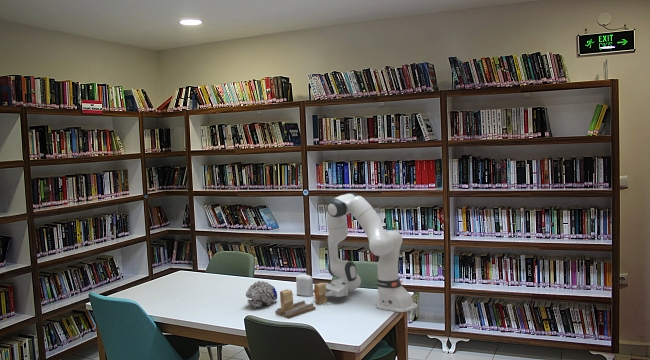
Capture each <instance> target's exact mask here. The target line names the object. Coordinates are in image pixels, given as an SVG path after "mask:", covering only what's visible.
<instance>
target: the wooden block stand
mask: <svg viewBox="0 0 650 360" xmlns="http://www.w3.org/2000/svg"><path fill="white" fill-rule="evenodd" d="M293 295H294V294H293V290H291V289H288V288H287V289H284V290H281V291H279V297H280V298H279V300H280V307H278V308H276V310H275V313H274V314H276V315H278V316H280V317H284V318H287V319H292V318H296V317H299V316H302V315H304V314H307V313H310V312H313V311H315V310H317V309H316V306H314V303H312V302H311V303H308V304H307V303H306V301H305V300H301V301H298V302H294V296H293Z"/></svg>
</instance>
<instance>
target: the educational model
mask: <svg viewBox="0 0 650 360" xmlns="http://www.w3.org/2000/svg"><path fill="white" fill-rule="evenodd" d="M245 297H246V298H248V299H246V300H247V302H246V303H247V304H248V305H249V306H251V307H254V309H256V308H260V307H261V306H263V303H264V304H265V305H266V306H268V307H269V306H270V305H271V304H272V303H273V301H276V300H277V299H278V292H277V290H276V288H275V287H274V285H272V284H271V283H269V282H267V281H266V282H265V281H261V280H258V281H255V282H254V283H253V284H251V285H250V286H249V287H248V289H247V290H246V292H245Z"/></svg>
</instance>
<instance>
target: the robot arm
mask: <svg viewBox="0 0 650 360" xmlns="http://www.w3.org/2000/svg"><path fill="white" fill-rule="evenodd" d="M349 214H351V215H352V217H354V218H355V220H356V221H357V222H358V224H359V226H360V227H361V228H362V230H363V231H364V233H365V235H366V237H367V239H368V247H369V251H370V253H371V254H373V256H378V257H379V259H378V261H377V264H376V267H377V269H376V270H377V278H376V280H377V281H376V286H377V297H376V303H375V305H376V309H379V310H386V311H391V312H397V313H405V312H410V311H412V310H415V309H417V307H418V304H417V303H415V302H413V296H412V294H411V293H410V292H408V290H406V288H405V287H404V286H402V284H403V283H404V282H403V280H400V277H399V257H400V253H401V252H400V251H401V246H402V244H403V236H402V234H401V233H400V232H399V231H397V230H387V231H386V230H385V229H384V226H383V222H382V219H381V216H379V214H378V213H377V211H376V210H375V209H374V207H373V206H372V204H370V203H369V202H368V201H367V200H366V198H364V197H363V196H362V195H358V194H357V193H355V192H348V193H345V194H342V195H339V196H336V197H335V198H332V199H331V200H329V201H328V202H327V203H326V223H327V229H328V236H327V237H326V238H327V239H326V246H327V247H326V248H327V256H328V257H327V258H328V259H327V260H328V263H327V271H328V273H329V275H330V276H331V277H334V278H335V277H336V278H337V277H338V278H337V279H334V280H332V281H331V282H330V283H328V282H325V283H326V292H325V293H324V296H327V297H329V296H332V297H337V298H341V297H344V296H345V297H347V296H349V293H350V292H352V291H354V290H358V288H359V287H360V286H361V283H362V280H361V277H360V276H359V274H358V273H357V266H356V264H355V263H354V262H353V261H352V260H342V259H340V258H339V249H338V245H339V243H340V242H342V241H344V240H345V239H346V238H347V237H348V235H349V229H348V224H347V219H346V217H347V215H349ZM313 294H315V293H314V289H313Z"/></svg>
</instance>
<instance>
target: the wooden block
mask: <svg viewBox="0 0 650 360" xmlns="http://www.w3.org/2000/svg"><path fill="white" fill-rule="evenodd" d="M326 283H327V282H321V281H320V282H318V283H314V284H313V290H314V293H313V294H314V302H315V303H314V304H316V305H318V304H319V306H321V304H322V305H324V303H325V304H327V303H328V296H324V293H325V292H326Z"/></svg>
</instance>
